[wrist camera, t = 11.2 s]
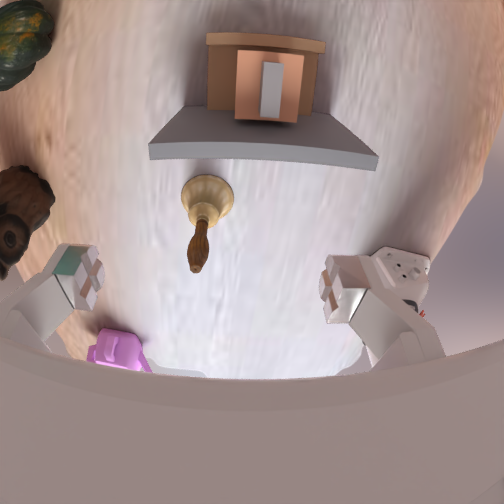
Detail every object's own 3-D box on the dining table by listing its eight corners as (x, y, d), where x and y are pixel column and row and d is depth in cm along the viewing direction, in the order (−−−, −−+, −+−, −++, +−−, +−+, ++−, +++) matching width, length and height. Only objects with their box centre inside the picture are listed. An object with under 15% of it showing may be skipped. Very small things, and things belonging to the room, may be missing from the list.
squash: (39, 99, 24) (-18, 43, 9) (-16, 111, 22) (-67, 76, 7) (80, 26, 24) (49, -34, 9) (19, 44, 22) (-16, 1, 7)
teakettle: (113, 319, 64) (101, 360, 55) (161, 347, 73) (155, 386, 64) (88, 335, 70) (77, 370, 61) (130, 359, 80) (124, 392, 71)
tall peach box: (290, 55, 26) (311, 56, 18) (285, 107, 31) (302, 131, 22) (238, 51, 26) (237, 49, 17) (236, 104, 30) (233, 126, 22)
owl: (6, 161, 33) (-60, 225, 18) (50, 155, 34) (-25, 226, 19) (21, 215, 41) (-29, 285, 26) (64, 216, 43) (12, 296, 28)
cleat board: (339, 48, 27) (400, 52, 15) (324, 149, 37) (364, 207, 25) (184, 37, 26) (143, 28, 14) (185, 143, 36) (155, 199, 24)
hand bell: (188, 168, 39) (163, 233, 27) (241, 183, 41) (241, 253, 29) (176, 212, 44) (154, 285, 32) (224, 225, 46) (219, 300, 34)
